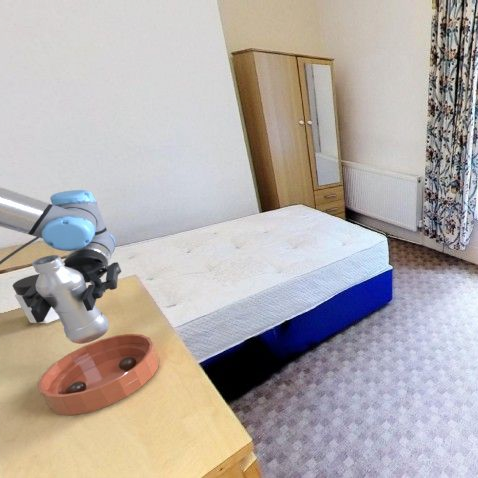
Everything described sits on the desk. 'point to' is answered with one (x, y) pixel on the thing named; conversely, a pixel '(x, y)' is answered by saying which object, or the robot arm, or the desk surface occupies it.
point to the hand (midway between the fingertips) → (62, 310)
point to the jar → (21, 289)
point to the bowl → (99, 374)
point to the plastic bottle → (69, 299)
